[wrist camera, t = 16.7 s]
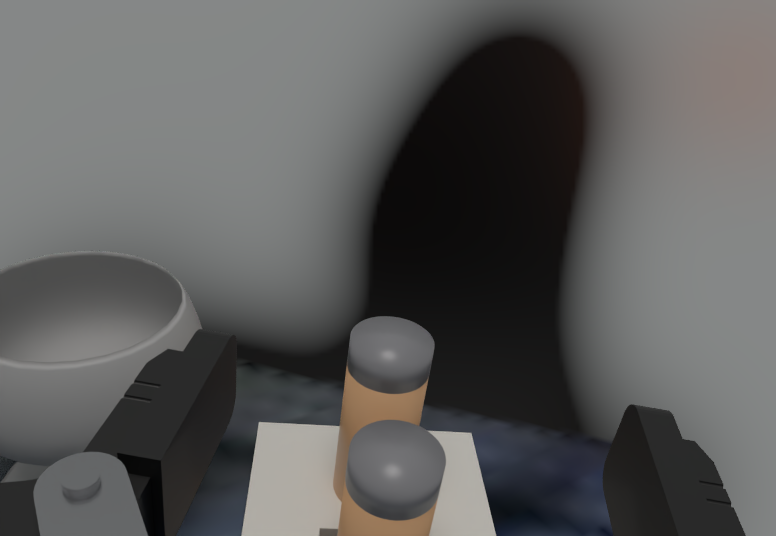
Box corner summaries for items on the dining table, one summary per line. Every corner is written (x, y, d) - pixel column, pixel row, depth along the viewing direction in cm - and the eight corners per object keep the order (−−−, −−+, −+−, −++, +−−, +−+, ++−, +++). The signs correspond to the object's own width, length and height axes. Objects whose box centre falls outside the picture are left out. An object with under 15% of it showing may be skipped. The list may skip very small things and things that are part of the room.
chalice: (-52, 472, 44) (-105, 277, 37) (149, 393, 53) (138, 224, 46) (23, 631, 36) (-26, 419, 28) (246, 505, 45) (252, 320, 37)
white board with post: (220, 693, 34) (221, 503, 27) (258, 442, 50) (264, 282, 43) (521, 695, 36) (591, 517, 29) (466, 452, 52) (503, 300, 45)
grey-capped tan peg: (328, 640, 37) (349, 490, 31) (329, 562, 42) (348, 417, 36) (415, 641, 38) (452, 494, 32) (407, 564, 42) (439, 422, 36)
